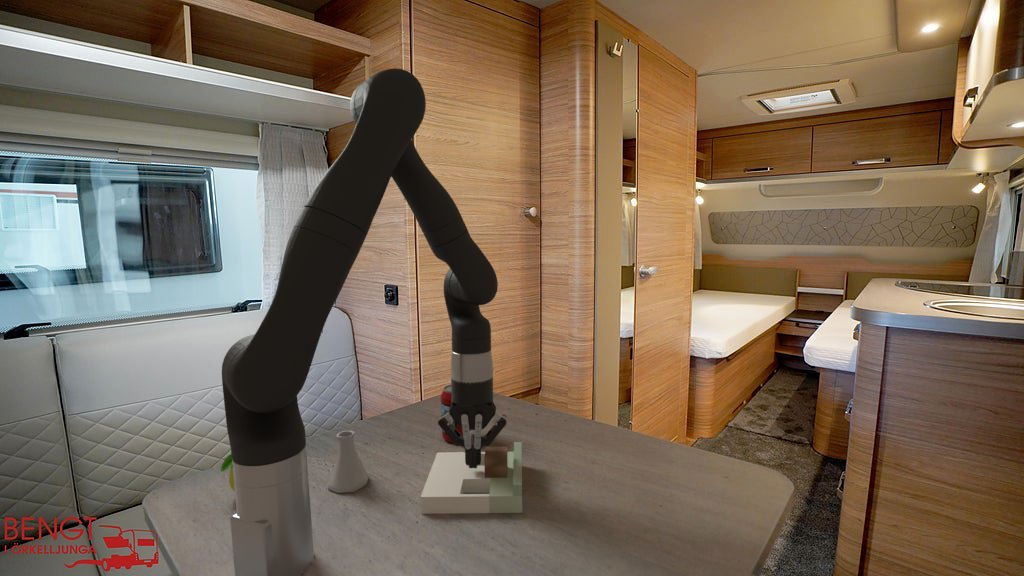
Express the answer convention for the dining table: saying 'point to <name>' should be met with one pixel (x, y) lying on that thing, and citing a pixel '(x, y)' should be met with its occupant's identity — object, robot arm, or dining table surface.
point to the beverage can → (445, 405)
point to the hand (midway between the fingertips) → (473, 466)
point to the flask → (347, 466)
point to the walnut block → (496, 462)
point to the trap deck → (472, 486)
